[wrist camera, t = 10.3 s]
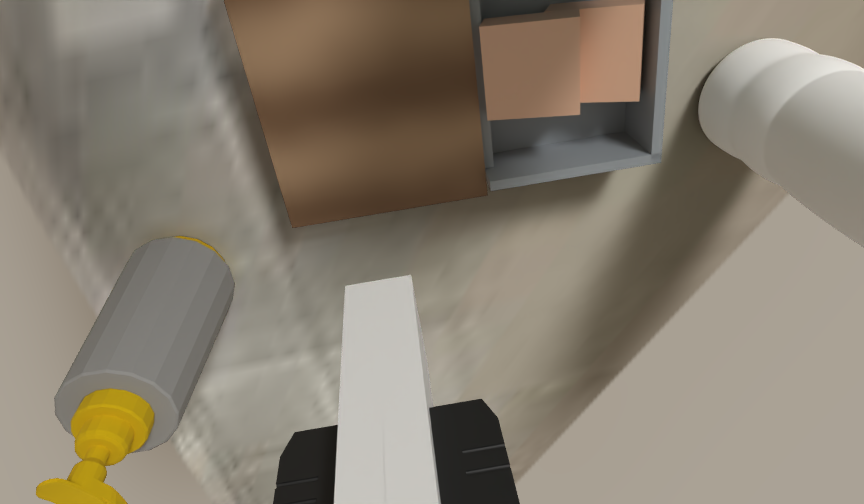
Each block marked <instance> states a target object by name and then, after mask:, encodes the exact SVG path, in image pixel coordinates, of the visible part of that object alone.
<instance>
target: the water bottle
mask: <svg viewBox="0 0 864 504" xmlns="http://www.w3.org/2000/svg"><path fill="white" fill-rule="evenodd" d="M698 115H699V121H700V125H701V127H702V130H703V132H704V133H705V135H706V136H707V138H708V139H709V140H710V141H711V142H712V143H714V144H715V145H716V146H718V147H719V148H720V149H722V150H723V151H725V152H727V153H728V154H730V155H732V156H734V157H736V158H738V159H740V160H742V161H743V162H744V163H745V164H746V165H747V166H748V167H749V168H750V169H751V170H753V171H754V172H755V173H757V174H758V175H760V176H761V177H763V178H765V179H766V180H768V181H770V182H772V183H775V184H777V185H780V186H781V187H782V188H784V189H785V190H786V191H787V192H788V193H789V194H790V195H791V196H793V197H794V198H795V199H796V200H797V201H799V202H800V203H801V204H803V205H804V206H805V207H806V208H808V209H809V210H810V211H812V212H813V213H814V214H816V215H817V216H819V217H820V218H821V219H823V220H824V221H825V222H827V223H828V224H830V225H831V226H832V227H834V228H835V229H837V230H838V231H840V232H841V233H843V234H844V235H846V236H847V237H848V238H850V239H851V240H853V241H855V242H856V243H858V244H859V245H861V246H862V247H864V69H863V68H861V67H859V66H857V65H855V64H853V63H851V62H848V61H846V60H843V59H839V58H836V57H832V56H827V55H820V54H818V53H816V52H815V51H813V50H811V49H809V48H807V47H804V46H802V45H799V44H797V43H794V42H791V41H788V40H783V39H777V38H767V39H760V40H756V41H752V42H750V43H747V44H745V45H743V46H741V47H739V48H737V49H736V50H734V51H733V52H731V53H730V54H729V55H727V56H726V57H725V58H724V59H723V60H722V61H721V62H720V63H719V64H718V65H717V66H716V67H715V69H714V70H713V71H712V73H711V74H710V75H709V77H708V79H707V81H706V82H705V84H704V87H703V89H702V92H701V95H700V100H699V107H698Z"/></svg>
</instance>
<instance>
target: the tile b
mask: <svg viewBox="0 0 864 504" xmlns="http://www.w3.org/2000/svg"><path fill="white" fill-rule="evenodd" d="M645 1H646V0H592V1H580V2H568V3H556V4H550V5H549V6H548V8H547V9H546V10H545V11H544V12H551V11H561V10H570V9H579V11H580V103H591V102H633V101H639V100H640V92H641V78H642V58H643V39H644V20H645Z"/></svg>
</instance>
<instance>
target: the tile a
mask: <svg viewBox="0 0 864 504" xmlns="http://www.w3.org/2000/svg"><path fill="white" fill-rule="evenodd" d="M479 31H480V43H481V54H482V65H483V76H484V87H485V99H486V110H487V121H490V120H506V119H521V118H537V117H553V116H568V115H580V11H579V9H570V10H561V11H551V12H542V13H532V14H523V15H513V16H504V17H494V18H485V19H483V21H482V23H481V24H480V26H479Z"/></svg>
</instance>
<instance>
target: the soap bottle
mask: <svg viewBox="0 0 864 504" xmlns="http://www.w3.org/2000/svg"><path fill="white" fill-rule="evenodd" d="M234 285H235V283H234V280H233V277H232V274H231V271H230V268H229V266H228V265H227V264H226V263H225V261H224V259H223V258H222V257H221V256H220V255H219V253H218V252H217V251H216V250H215V249H214V248H213V247H211V246H209V245H208V244H206V243H204V242H202V241H200V240H198V239H194V238H189V237H183V236H176V237H169V238H163V239H156V240H151V241H150V242H148V243H146V244H144V245H143V246H141V247H139V248H138V249H136V250H135V251H134V253H133V254H132V256H131V257H130V259H129V261H128V262H127V264H126V265H125V267H124V269H123V271H122V273H121V275H120V277H119V279H118V280H117V282H116V284H115V286H114V288H113V290H112V292H111V293H110V295H109V297H108V299H107V301H106V303H105V305H104V306H103V308H102V310H101V312H100V314H99V316H98V318H97V319H96V321H95V323H94V325H93V327H92V329H91V331H90V333H89V335H88V336H87V338H86V340H85V342H84V344H83V346H82V347H81V349H80V351H79V353H78V355H77V357H76V359H75V361H74V362H73V364H72V366H71V368H70V370H69V372H68V374H67V375H66V377H65V379H64V381H63V383H62V385H61V387H60V388H59V390H58V392H57V394H56V396H55V398H54V399H55V415H56V416H57V418H58V419H59V421H60V422H61V424H62V426H63V427H64V429H65V430H66V431H67V432H68V433H70V434H71V435H73V436H74V437H75V439H76V440H75V452H76V453H77V455H78V456H79V457H80V458H81V459H82V461H81V462H79V463H77V464H76V465H75V466H74V467H73V469H72V471H71V473H70V475H69V477H68V478H67V480H64V479H59V478H56V479H49V480H46V481H43V482H42V483H40V484H39V485H38V486H37V488H36V495H37V496H38V497H39V498H41V499H44V500H48V501H51V502H53V503H55V504H127V502H126V501H125V500H124V499H123V497H122V496H121V495H120V494H119V493H118V492H117V491H116V490H115V489H114V488H113V487H111V486H109V485H107V484H105V483H103V482H104V480H105V478H106V475H107V471H106V467H105V466H110V465H114V464H116V463H118V462H120V461H122V460H123V459H124V458H125V456H126V455H127V454H129V453H133V452H140V451H146V450H151V449H153V448H155V447H157V446H159V445H161V444H163V443H165V442H167V441H168V440H169V438H170V437H171V436H172V434H173V433H174V432H175V431H176V429H177V428H178V426H179V423H180V421H181V419H182V416H183V414H184V412H185V409H186V407H187V404H188V402H189V400H190V397H191V395H192V393H193V390H194V388H195V386H196V383H197V381H198V379H199V376H200V374H201V372H202V369H203V367H204V365H205V362H206V360H207V358H208V355H209V353H210V351H211V348H212V346H213V344H214V341H215V339H216V337H217V334H218V332H219V330H220V327H221V325H222V323H223V320H224V318H225V316H226V313H227V311H228V309H229V306H230V304H231V302H232V299H233V292H234Z"/></svg>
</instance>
